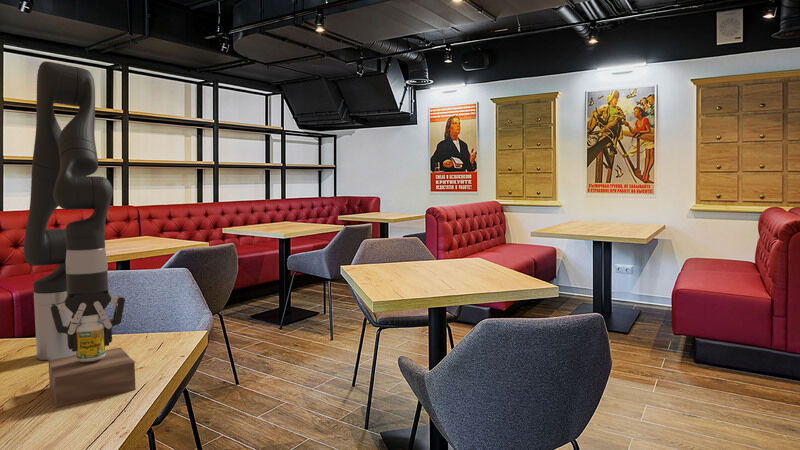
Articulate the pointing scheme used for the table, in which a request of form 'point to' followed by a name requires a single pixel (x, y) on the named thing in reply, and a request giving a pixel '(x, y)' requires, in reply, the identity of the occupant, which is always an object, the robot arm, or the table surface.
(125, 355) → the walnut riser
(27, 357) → the table surface
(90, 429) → the table surface
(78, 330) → the supplement bottle
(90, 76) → the robot arm
